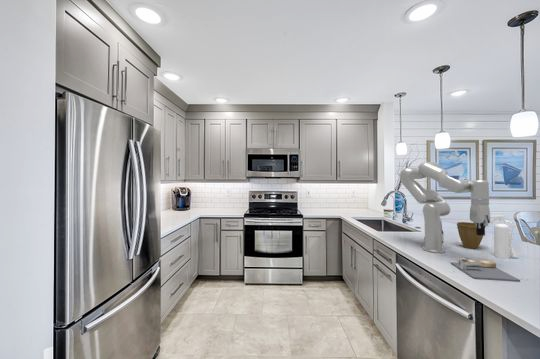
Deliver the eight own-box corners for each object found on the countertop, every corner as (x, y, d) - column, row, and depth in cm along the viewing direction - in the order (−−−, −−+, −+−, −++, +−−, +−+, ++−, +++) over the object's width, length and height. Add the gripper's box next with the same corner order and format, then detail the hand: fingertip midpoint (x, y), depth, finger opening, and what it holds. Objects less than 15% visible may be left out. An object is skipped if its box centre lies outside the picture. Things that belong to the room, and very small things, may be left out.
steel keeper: (460, 269, 123) (460, 261, 123) (479, 270, 121) (479, 262, 121) (463, 271, 120) (463, 263, 120) (482, 272, 118) (482, 264, 118)
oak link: (463, 265, 125) (463, 259, 125) (458, 263, 129) (458, 256, 129) (496, 267, 122) (496, 261, 122) (490, 264, 126) (490, 258, 126)
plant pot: (456, 248, 159) (456, 224, 159) (457, 243, 170) (457, 221, 170) (486, 252, 149) (486, 227, 149) (485, 246, 160) (485, 223, 160)
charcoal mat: (450, 263, 131) (450, 262, 131) (489, 265, 127) (489, 264, 127) (473, 278, 112) (473, 277, 112) (520, 281, 108) (520, 280, 108)
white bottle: (521, 260, 134) (518, 216, 135) (492, 257, 140) (489, 215, 141) (516, 257, 140) (513, 215, 140) (489, 254, 146) (486, 214, 147)
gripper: (464, 201, 139) (464, 232, 139) (481, 203, 124) (482, 238, 124) (478, 201, 137) (479, 232, 137) (497, 203, 122) (498, 238, 122)
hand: (480, 235), depth 130 cm, fingers closed
